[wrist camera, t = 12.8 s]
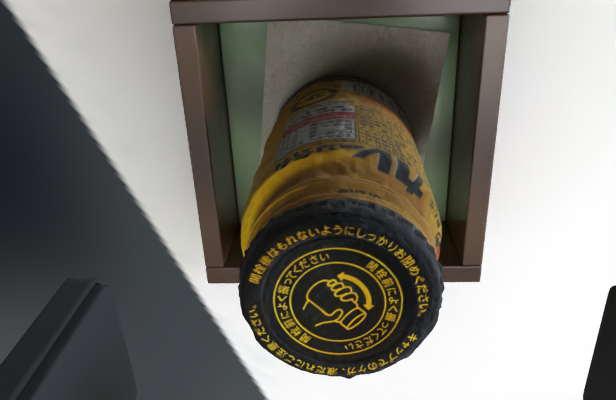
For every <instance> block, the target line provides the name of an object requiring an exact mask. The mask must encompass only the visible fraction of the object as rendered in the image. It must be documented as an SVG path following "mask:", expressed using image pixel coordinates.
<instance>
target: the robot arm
mask: <svg viewBox="0 0 616 400" xmlns="http://www.w3.org/2000/svg"><path fill="white" fill-rule="evenodd" d="M136 395H137V389H136V383H135V379H134V375H133V371H132V367H131V363H130V359H129V354H128V350H127V346H126V342H125V338H124V334H123V330H122V326H121V322H120V318H119V314H118V310H117V305H116V301H115V297H114V293H113V290H112V288H111V286H110V285H104V283H103V281H102V280H101V279H100V278H98V277H72V278H68V279H67V280H66V281H65V282H64V283H63V284H62V286H61V287H60V288H59V290H58V291H57V292H56V294H55V295H54V296H53V298H52V299H51V300H50V301H49V303H48V304H47V305H46V306H45V308H44V309H43V310H42V312H41V313H40V314H39V316H38V317H37V318H36V320H35V321H34V322H33V324H32V325H31V326H30V327H29V329H28V330H27V331H26V333H25V334H24V335H23V336H22V338H21V339H20V340H19V342H18V343H17V344H16V346H15V347H14V348H13V350H12V351H11V352H10V353H9V355H8V356H7V357H6V359H5V360H4V361H3V362H2V364H1V365H0V400H136ZM583 400H616V286H612V287H611V288H610V290H609V293H608V297H607V301H606V305H605V309H604V313H603V317H602V321H601V325H600V329H599V333H598V337H597V341H596V345H595V349H594V353H593V357H592V361H591V365H590V369H589V373H588V377H587V381H586V385H585V389H584V394H583Z"/></svg>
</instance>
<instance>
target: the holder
mask: <svg viewBox="0 0 616 400" xmlns="http://www.w3.org/2000/svg"><path fill="white" fill-rule="evenodd" d="M510 4H511V0H171V1H170V2H169V6H170V13H171V20H172V24H174V26H173V35H174V42H175V50H176V57H177V64H178V71H179V78H180V85H181V93H182V100H183V107H184V114H185V121H186V128H187V136H188V143H189V150H190V157H191V164H192V171H193V179H194V186H195V193H196V200H197V207H198V214H199V222H200V229H201V236H202V243H203V250H204V257H205V265H206V272H207V279H208V283H240V281H239V274H240V270H239V266H241V265H242V261H243V258H244V256H243V252H242V248H241V218H242V216H243V212H244V209H245V206H246V203H247V199H248V196H249V193H250V190H251V188H252V185H253V177H254V175H255V173H256V171H257V170H258V167H259V165H260V153H261V134H262V116H263V95H264V78H265V57H266V38H267V22H279V21H308V20H330V21H345V22H351V23H361V24H371V25H381V26H389V27H399V28H409V29H418V30H427V31H436V32H445V33H450V36H449V41H448V46H447V52H446V58H445V62H444V66H443V71H442V75H441V81H440V85H439V91H438V97H437V101H436V106H435V111H434V118H433V122H432V126H431V132H430V136H429V141H428V145H427V152H426V155H425V161H424V166H423V168H424V172H425V175H426V178H427V180H428V183H429V185H430V189H431V191H432V194H433V197H434V200H435V203H436V207H437V210H438V212H439V215H440V221H441V226H442V230H441V231H442V237H441V243H440V253H439V258H438V262H439V263H440V264H441V265H442V266H443V274H442V280H443V282H479V281H480V276H481V264H482V258H483V249H484V240H485V231H486V222H487V213H488V204H489V195H490V186H491V177H492V168H493V159H494V150H495V141H496V132H497V123H498V114H499V105H500V96H501V87H502V78H503V69H504V60H505V51H506V42H507V33H508V24H509V14H507V13H509V11H510Z"/></svg>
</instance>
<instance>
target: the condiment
mask: <svg viewBox="0 0 616 400" xmlns="http://www.w3.org/2000/svg"><path fill="white" fill-rule="evenodd" d="M449 36H450V33H445V32H436V31H427V30H418V29H409V28H399V27H389V26H381V25H371V24H361V23H351V22H345V21H330V20H308V21H279V22H267V38H266V57H265V78H264V95H263V116H262V134H261V153H260V165H259V167H258V170H257V171H256V173H255V175H254V177H253V185H252V188H251V190H250V193H249V196H248V199H247V203H246V206H245V209H244V212H243V216H242V218H241V248H242V252H243V256H244V258H243V261H242V265H241V266H239V270H240V274H239V281H240V284H239V286H238V288H239V297H240V305H241V309H242V314H243V316H244V318H245V320H246V321H247V322H248V324H249V325H250V327H251V329H252V331H253V333H254V336H255V339H256V340H257V342H258V343H259V344H260V345H261V346H262V347H263V348H264V349H266V350H267V351H268V352H270V353H271V354H272V355H274V356H275V357H277V358H278V359H280V360H282V361H283V362H285V363H287V364H289V365H291V366H293V367H295V368H298V369H300V370H302V371H307V372H310V373H313V374H322V375H328V376H341V377H345V378H348V379H350V378H352V377H354V376H356V375H360V374H370V373H374V372H378V371H381V370H383V369H385V368H387V367H389V366H391V365H393V364H395V363H397V362H398V361H400V360H402V359H404V358H407V357H409V356H410V355H411V354H412V353H413V352H414V350H415V349H416V348H417V347H418V346H419V345H420V344H421V343H422V341H423V340H424V339H425V338H426V337H427V336H428V335H429V333H430V332H431V331H432V330H433V328H434V327H435V325H436V323H437V320H438V315H439V309H440V308H441V303H442V293H443V291H444V284H443V280H442V274H443V266H442V265H441V264H440V263H439V262H438V258H439V253H440V243H441V237H442V231H441V230H442V226H441V221H440V215H439V212H438V210H437V207H436V203H435V200H434V197H433V194H432V191H431V189H430V185H429V183H428V180H427V178H426V175H425V172H424V168H423V166H424V161H425V155H426V152H427V145H428V141H429V136H430V132H431V126H432V122H433V118H434V111H435V106H436V101H437V97H438V91H439V85H440V81H441V75H442V71H443V66H444V62H445V58H446V52H447V46H448V41H449Z"/></svg>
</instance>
